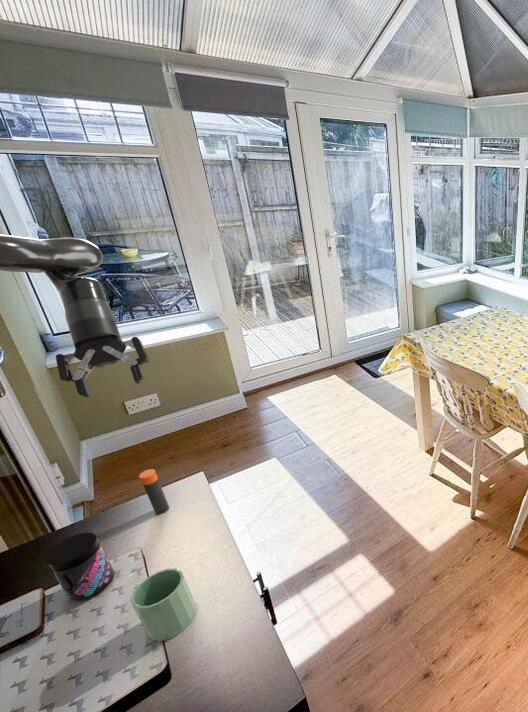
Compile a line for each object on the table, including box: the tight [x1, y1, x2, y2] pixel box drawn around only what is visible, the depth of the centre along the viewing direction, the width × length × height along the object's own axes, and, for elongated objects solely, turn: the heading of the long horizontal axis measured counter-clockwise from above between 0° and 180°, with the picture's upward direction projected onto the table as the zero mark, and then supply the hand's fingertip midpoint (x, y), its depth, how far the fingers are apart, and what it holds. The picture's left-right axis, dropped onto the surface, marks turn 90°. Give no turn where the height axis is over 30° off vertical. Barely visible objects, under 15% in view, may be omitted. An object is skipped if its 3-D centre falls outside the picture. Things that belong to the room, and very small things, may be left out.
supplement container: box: [44, 532, 116, 602], centre depth 77 cm, size 7×7×10 cm
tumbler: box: [130, 567, 198, 642], centre depth 72 cm, size 7×7×9 cm
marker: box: [138, 468, 170, 515], centre depth 94 cm, size 3×3×11 cm
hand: (113, 389), depth 90 cm, fingers open, 8 cm apart
